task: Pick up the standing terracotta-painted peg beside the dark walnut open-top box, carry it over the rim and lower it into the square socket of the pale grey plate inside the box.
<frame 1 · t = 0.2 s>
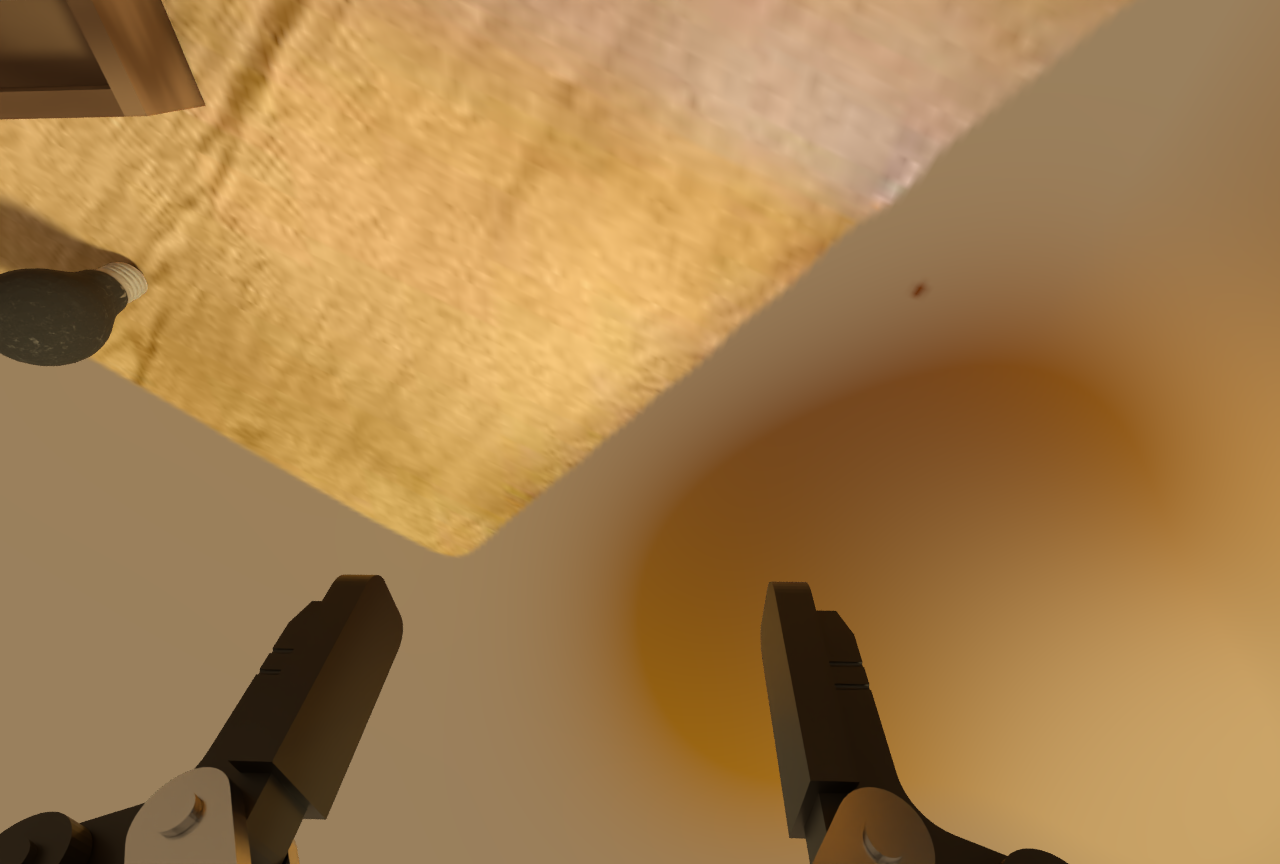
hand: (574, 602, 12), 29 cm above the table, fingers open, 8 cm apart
light bulb: (139, 273, 39), on the table
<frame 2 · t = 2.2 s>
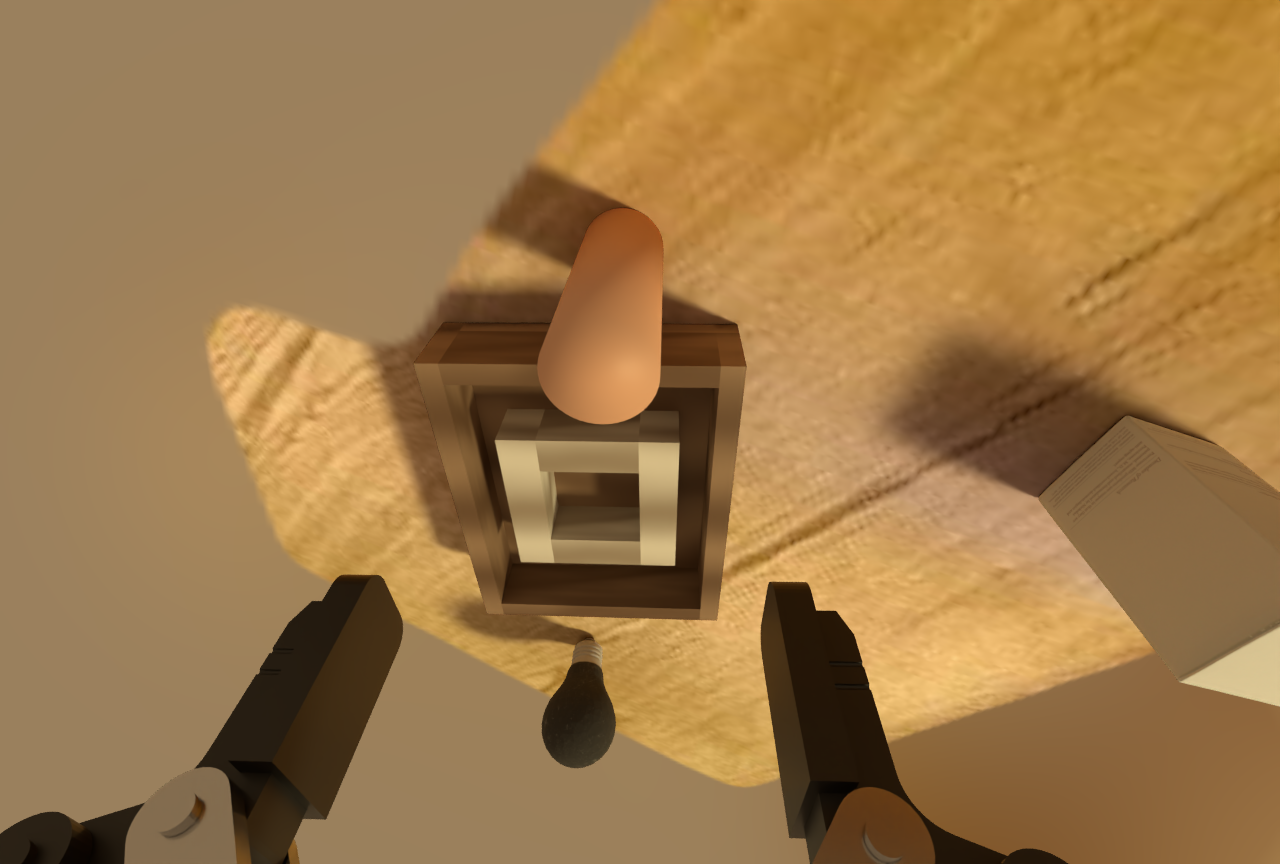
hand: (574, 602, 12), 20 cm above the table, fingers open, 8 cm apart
peg: (623, 249, 28), on the table
box: (599, 464, 36), on the table
supplement box: (1122, 471, 35), on the table
light bulb: (589, 638, 48), on the table
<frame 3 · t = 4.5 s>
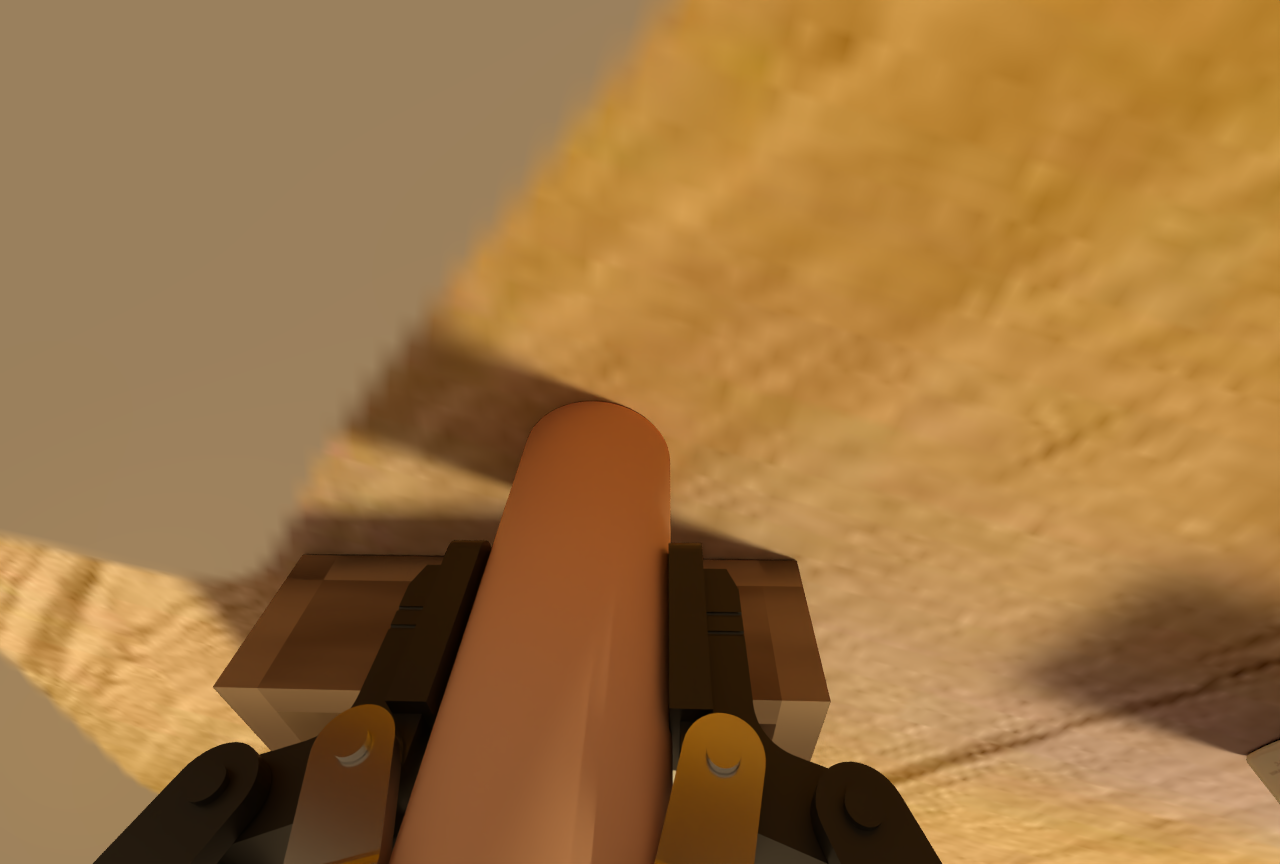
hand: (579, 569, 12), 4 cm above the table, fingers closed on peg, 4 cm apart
peg: (597, 461, 15), on the table, touching gripper
box: (574, 713, 24), on the table
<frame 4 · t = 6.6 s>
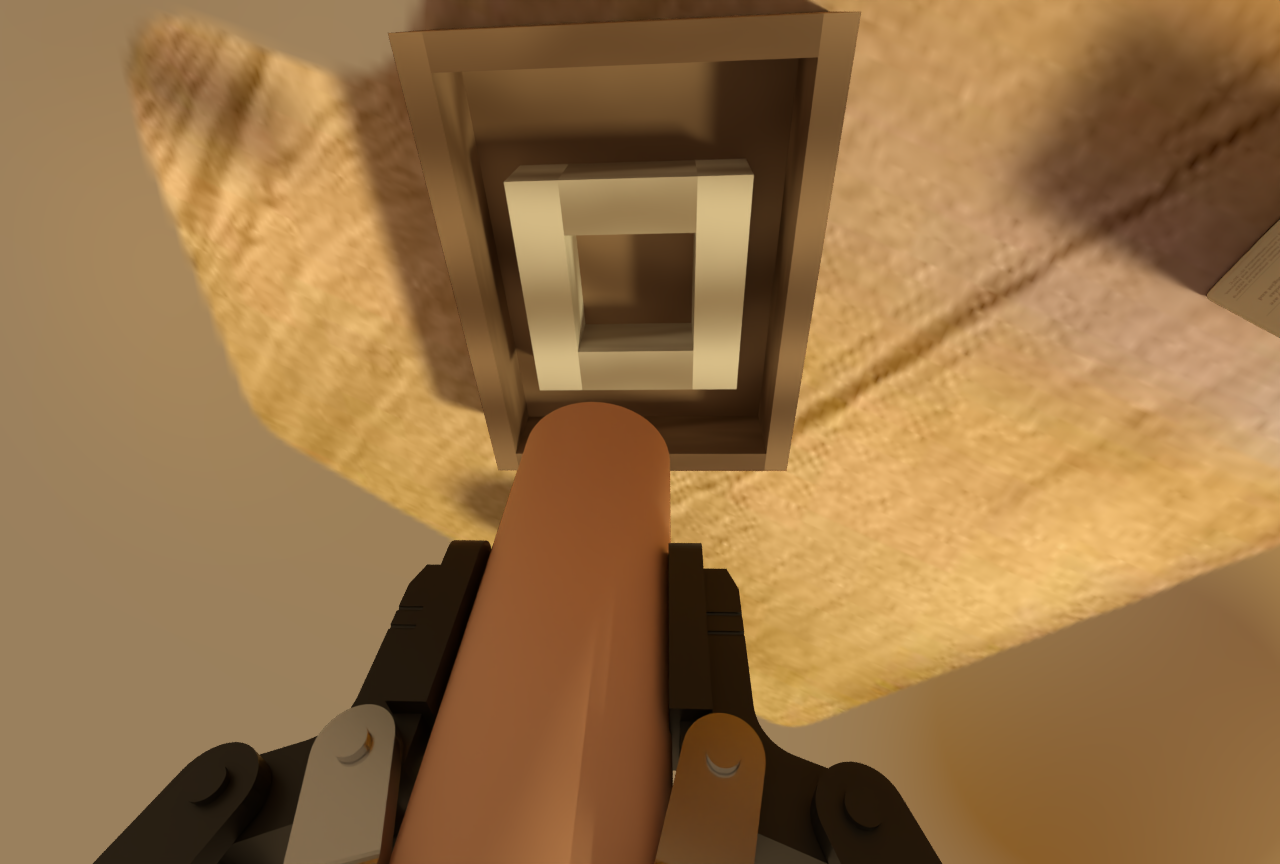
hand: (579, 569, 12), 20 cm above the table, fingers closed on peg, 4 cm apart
peg: (597, 462, 15), point 16 cm above the table, touching gripper
box: (637, 264, 28), on the table
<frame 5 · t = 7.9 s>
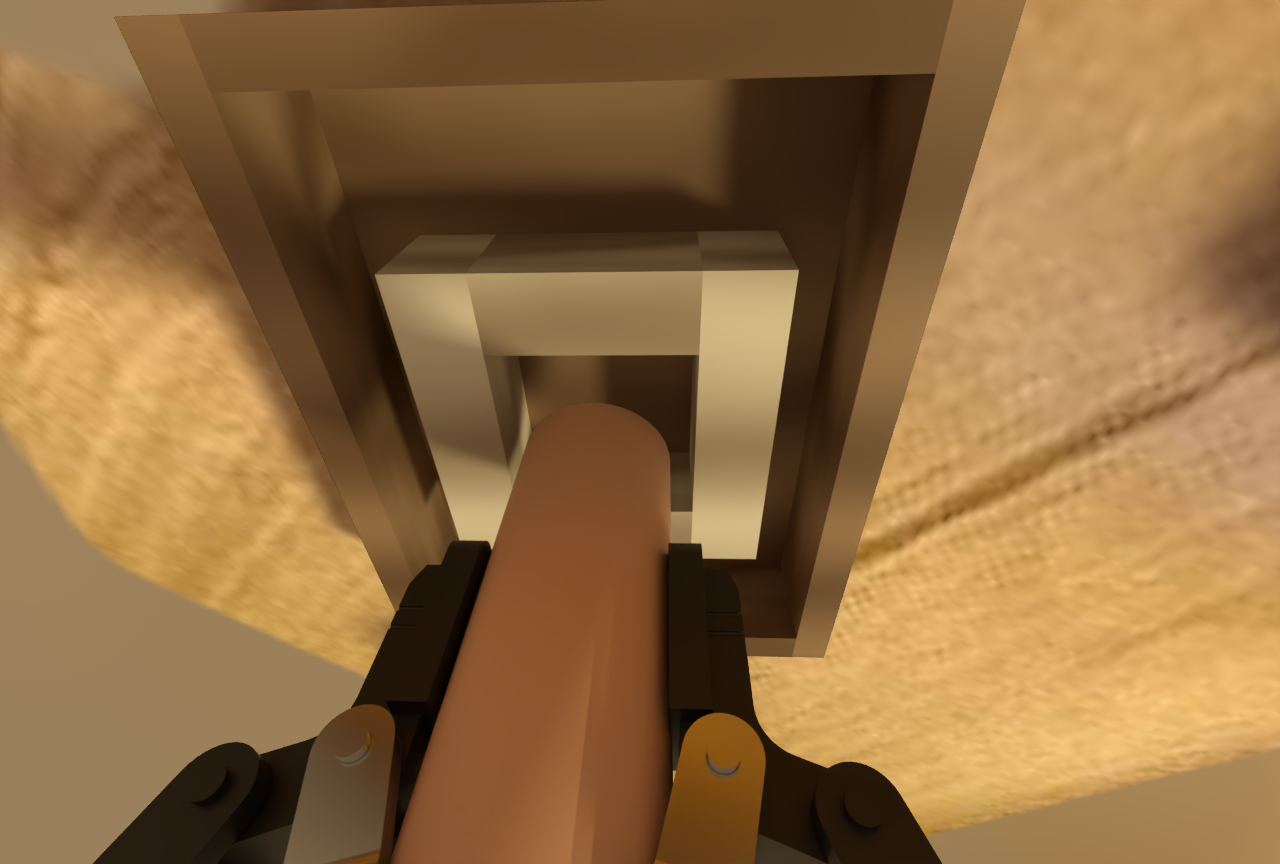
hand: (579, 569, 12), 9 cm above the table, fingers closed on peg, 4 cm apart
peg: (597, 462, 15), point 5 cm above the table, touching gripper
box: (609, 370, 19), on the table
when the fingers open (6 cm above the table, at t = 8.7 s): peg drops 1 cm, resting on box.
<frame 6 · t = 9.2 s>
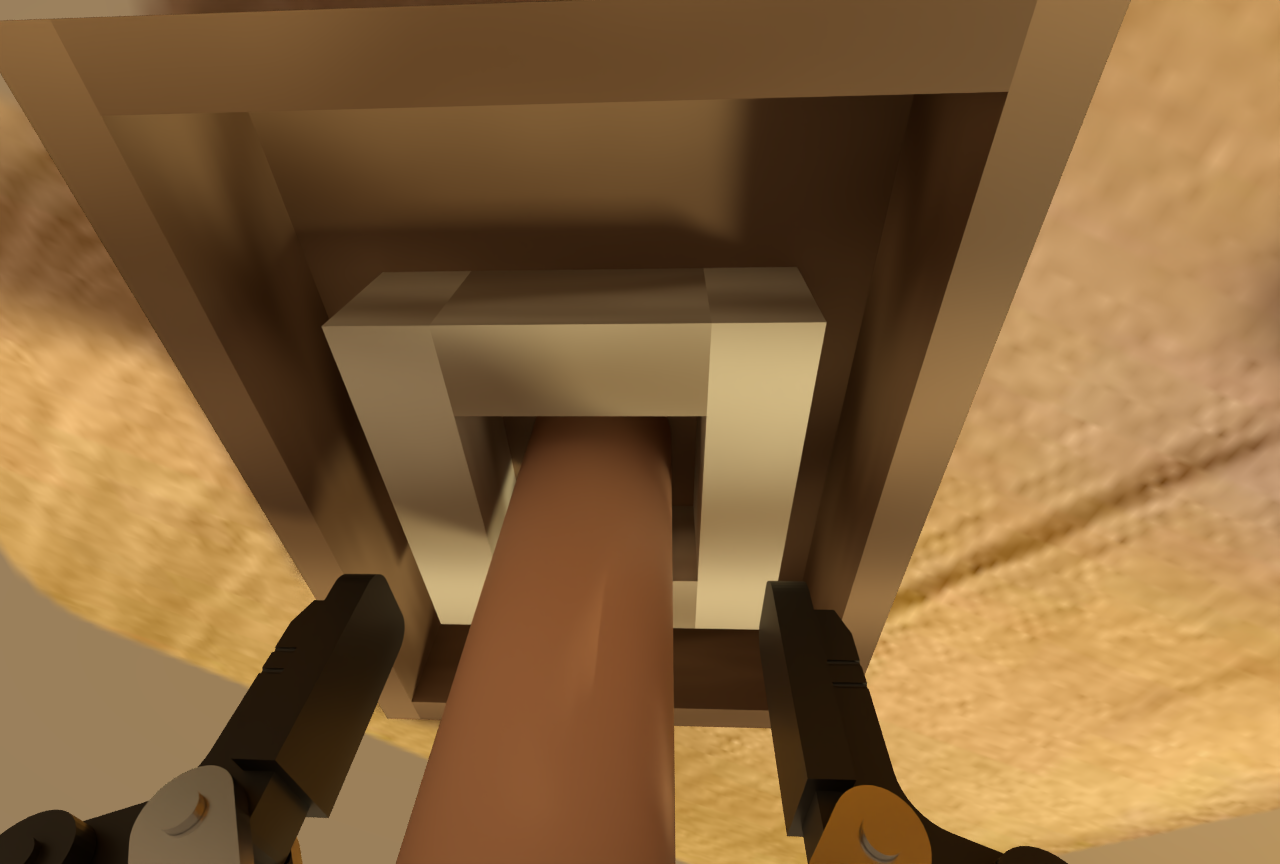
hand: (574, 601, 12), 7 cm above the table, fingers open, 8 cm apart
peg: (602, 437, 16), point 1 cm above the table, touching box
box: (603, 416, 17), on the table
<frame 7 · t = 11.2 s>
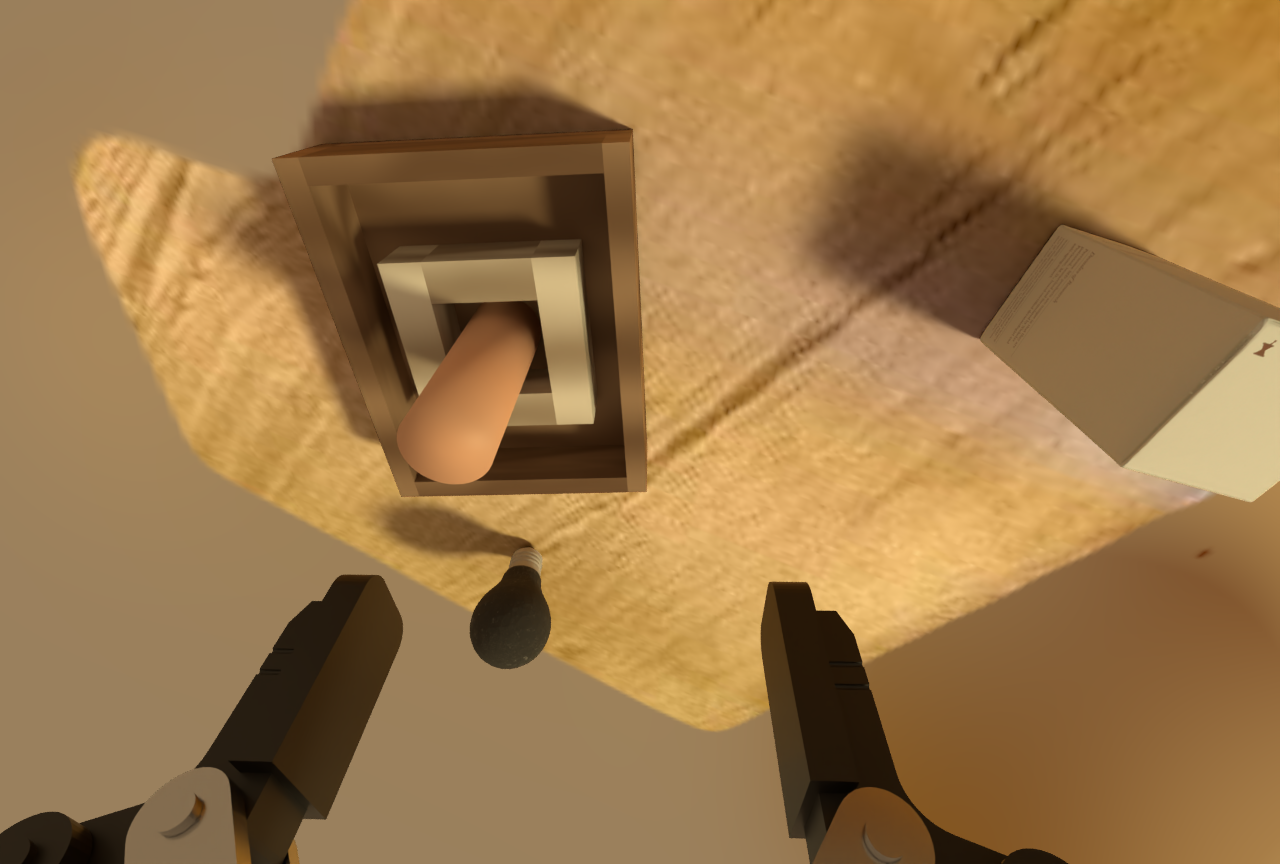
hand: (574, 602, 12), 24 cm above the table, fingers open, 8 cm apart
peg: (507, 328, 33), point 1 cm above the table, touching box
box: (510, 321, 34), on the table
supplement box: (1065, 300, 33), on the table
light bulb: (529, 549, 45), on the table
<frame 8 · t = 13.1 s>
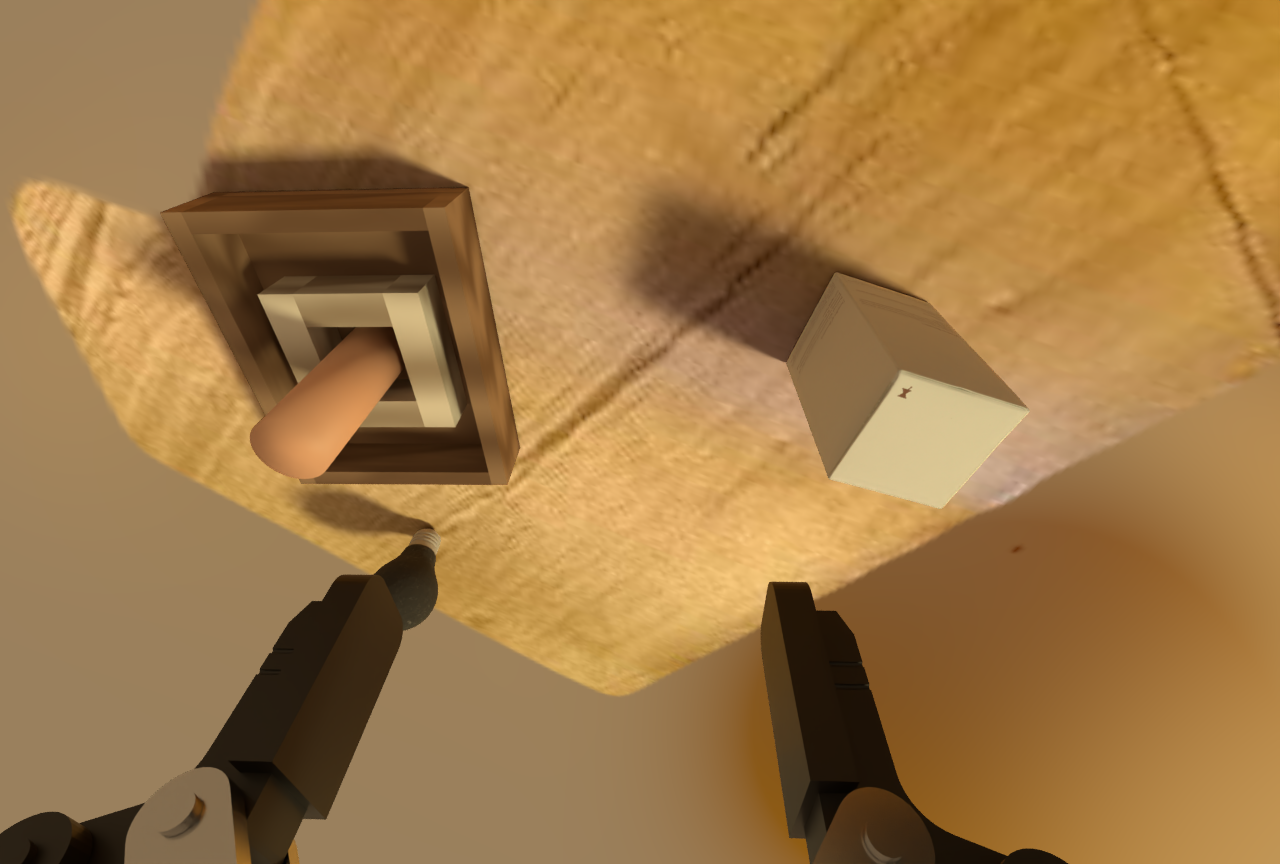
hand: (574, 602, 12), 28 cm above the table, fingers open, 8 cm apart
peg: (383, 344, 39), point 1 cm above the table, touching box
box: (388, 338, 40), on the table
supplement box: (854, 333, 38), on the table
light bulb: (431, 530, 52), on the table
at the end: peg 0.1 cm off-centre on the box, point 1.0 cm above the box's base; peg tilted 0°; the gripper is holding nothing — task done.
